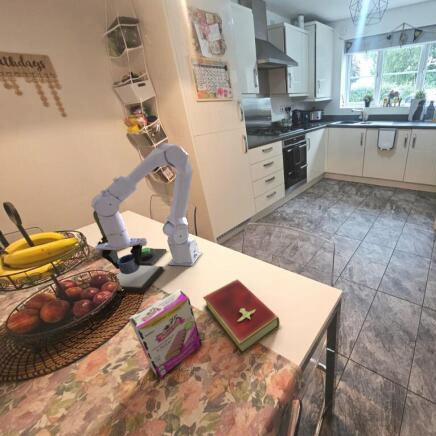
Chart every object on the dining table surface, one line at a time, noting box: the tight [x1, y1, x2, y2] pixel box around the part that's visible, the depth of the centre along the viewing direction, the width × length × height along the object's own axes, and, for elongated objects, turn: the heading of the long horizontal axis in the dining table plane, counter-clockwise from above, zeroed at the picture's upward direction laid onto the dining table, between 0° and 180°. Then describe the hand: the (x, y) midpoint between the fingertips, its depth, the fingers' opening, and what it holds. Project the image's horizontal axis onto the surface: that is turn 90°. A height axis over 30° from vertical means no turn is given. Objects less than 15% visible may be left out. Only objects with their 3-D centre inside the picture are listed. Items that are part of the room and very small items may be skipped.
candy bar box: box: [128, 288, 202, 380], centre depth 56 cm, size 11×5×16 cm, turn 141°
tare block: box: [140, 247, 168, 266], centre depth 97 cm, size 10×10×3 cm
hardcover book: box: [202, 278, 280, 355], centre depth 69 cm, size 12×21×4 cm, turn 41°
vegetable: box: [92, 208, 105, 237], centre depth 106 cm, size 4×4×20 cm
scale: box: [115, 265, 165, 294], centre depth 86 cm, size 14×12×2 cm
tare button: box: [141, 247, 150, 255], centre depth 97 cm, size 3×3×2 cm
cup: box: [117, 253, 140, 274], centre depth 83 cm, size 6×6×4 cm
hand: (129, 265), depth 83 cm, fingers closed on cup, 6 cm apart
